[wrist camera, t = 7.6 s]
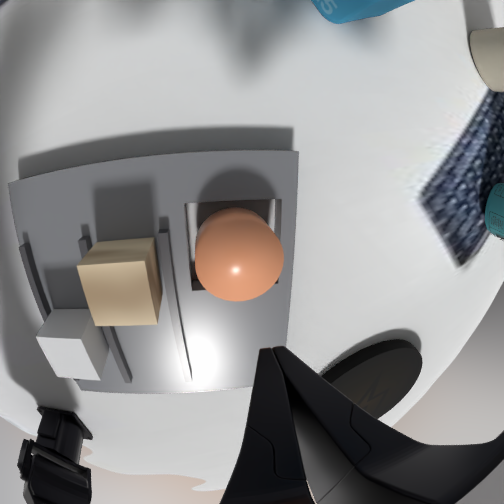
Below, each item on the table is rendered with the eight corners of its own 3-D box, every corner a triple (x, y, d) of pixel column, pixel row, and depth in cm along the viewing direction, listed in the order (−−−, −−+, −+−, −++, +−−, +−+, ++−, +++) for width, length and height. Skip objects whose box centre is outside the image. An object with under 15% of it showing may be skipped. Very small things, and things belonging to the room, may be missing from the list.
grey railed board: (277, 371, 25) (283, 388, 23) (84, 379, 22) (79, 396, 20) (290, 150, 17) (303, 152, 15) (19, 179, 14) (1, 185, 12)
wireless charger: (408, 311, 26) (418, 321, 25) (417, 378, 34) (423, 386, 32) (272, 396, 27) (276, 410, 25) (322, 437, 35) (326, 447, 33)
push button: (270, 275, 19) (281, 297, 17) (198, 281, 18) (199, 304, 16) (272, 205, 17) (285, 217, 15) (192, 209, 16) (191, 222, 14)
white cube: (109, 349, 19) (100, 380, 16) (69, 347, 18) (57, 376, 15) (94, 308, 17) (80, 338, 14) (53, 309, 17) (35, 336, 13)
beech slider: (162, 292, 18) (157, 324, 15) (109, 295, 17) (95, 326, 14) (154, 237, 16) (144, 260, 13) (96, 242, 15) (76, 265, 12)
